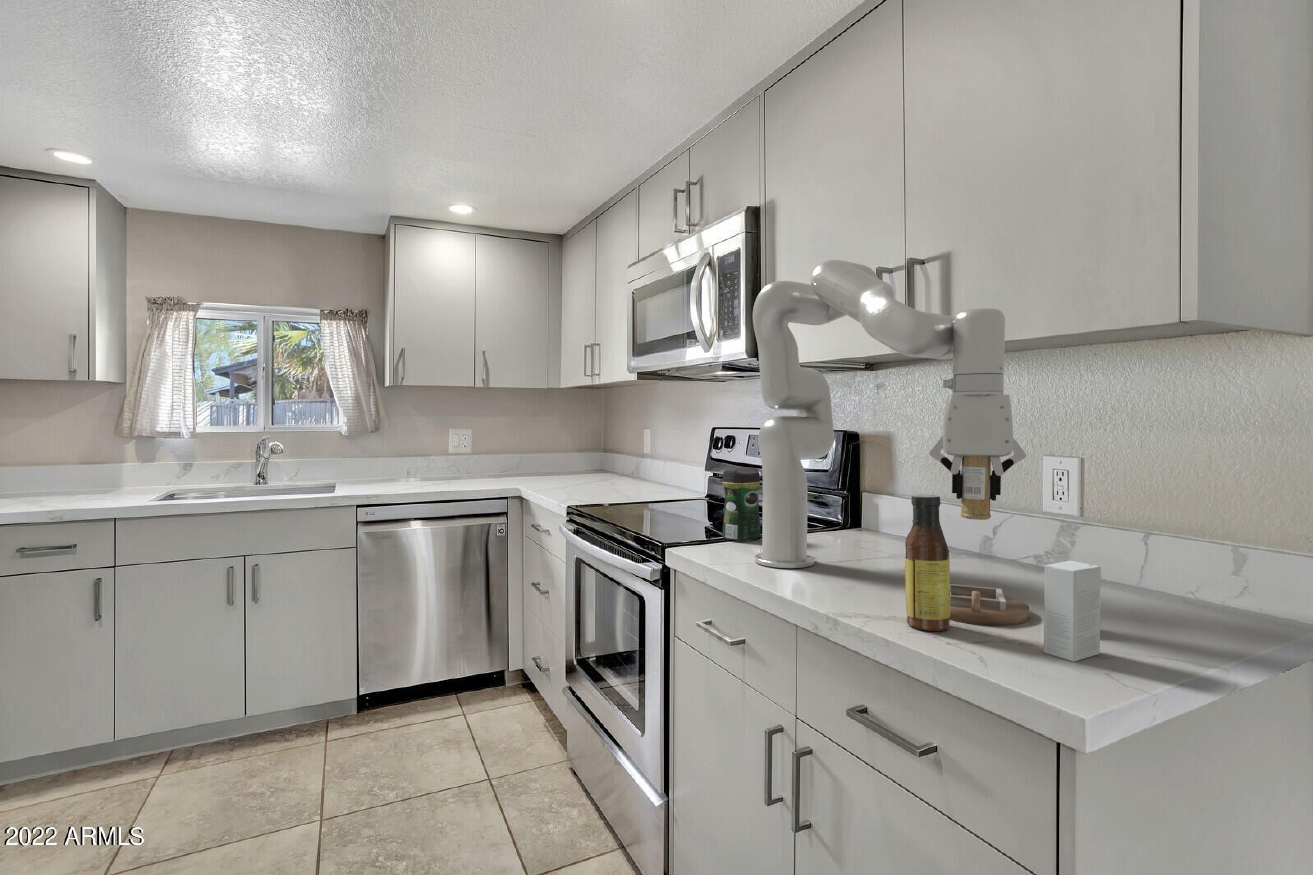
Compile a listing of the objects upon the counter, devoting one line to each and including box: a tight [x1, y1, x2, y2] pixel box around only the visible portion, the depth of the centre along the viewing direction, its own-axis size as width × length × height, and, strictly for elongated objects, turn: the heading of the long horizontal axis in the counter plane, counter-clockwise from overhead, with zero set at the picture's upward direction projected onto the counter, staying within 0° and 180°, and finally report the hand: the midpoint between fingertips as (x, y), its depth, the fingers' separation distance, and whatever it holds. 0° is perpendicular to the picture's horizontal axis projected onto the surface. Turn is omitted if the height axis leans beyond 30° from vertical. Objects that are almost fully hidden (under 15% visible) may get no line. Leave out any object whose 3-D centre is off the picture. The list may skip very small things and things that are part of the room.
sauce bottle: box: [904, 493, 951, 632], centre depth 101 cm, size 7×6×20 cm
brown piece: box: [950, 583, 1031, 627], centre depth 109 cm, size 16×16×4 cm
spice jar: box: [959, 456, 992, 521], centre depth 109 cm, size 5×5×13 cm
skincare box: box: [1043, 560, 1102, 663], centre depth 89 cm, size 6×4×12 cm
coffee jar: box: [722, 466, 762, 542], centre depth 172 cm, size 10×8×19 cm
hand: (975, 497), depth 109 cm, fingers closed on spice jar, 4 cm apart
